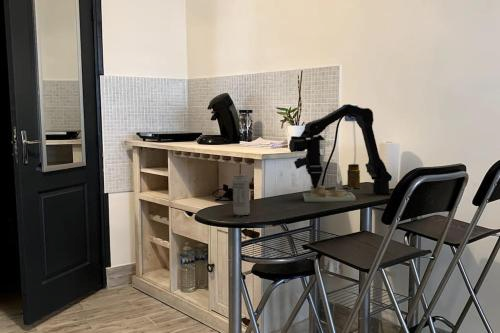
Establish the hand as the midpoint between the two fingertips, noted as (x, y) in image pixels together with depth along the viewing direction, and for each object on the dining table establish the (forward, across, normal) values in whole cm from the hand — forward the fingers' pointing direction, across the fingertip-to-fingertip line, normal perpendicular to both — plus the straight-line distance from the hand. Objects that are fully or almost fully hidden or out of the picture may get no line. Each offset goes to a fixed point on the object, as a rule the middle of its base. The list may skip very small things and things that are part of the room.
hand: (314, 187), depth 218 cm
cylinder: (+5, -14, +12) cm, 19 cm away
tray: (+5, 0, +6) cm, 8 cm away
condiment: (+6, -34, +21) cm, 40 cm away
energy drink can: (+6, +35, -29) cm, 46 cm away
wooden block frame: (+5, 0, +6) cm, 8 cm away
